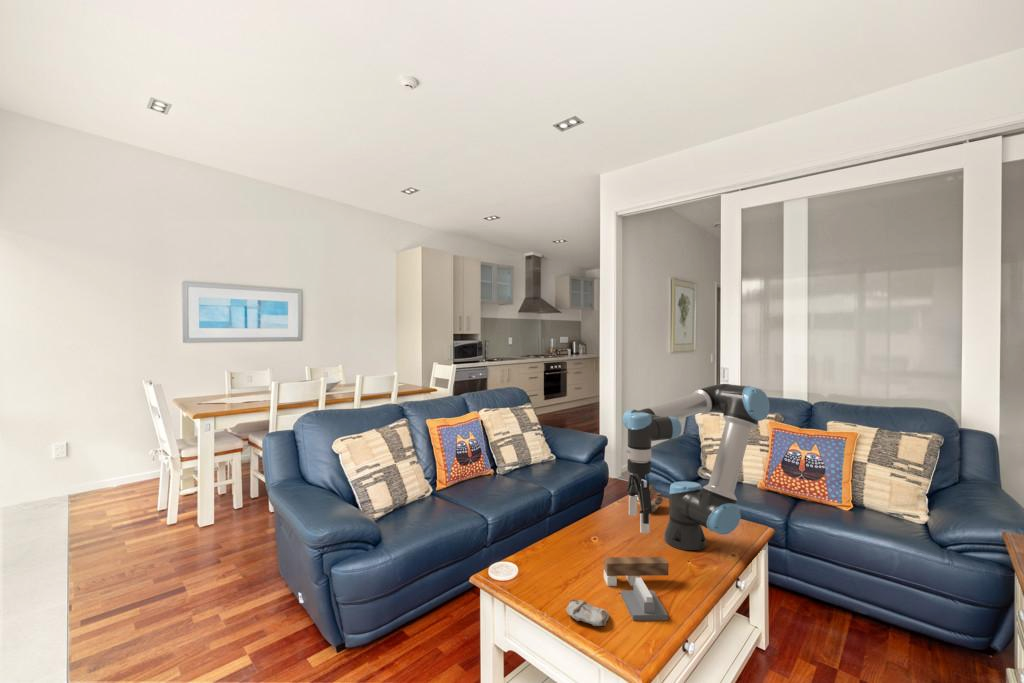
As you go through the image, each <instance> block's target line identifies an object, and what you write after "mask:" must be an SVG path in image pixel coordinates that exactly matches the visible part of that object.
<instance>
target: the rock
mask: <svg viewBox="0 0 1024 683" xmlns="http://www.w3.org/2000/svg"><path fill="white" fill-rule="evenodd" d="M649 490H650V498H651V506H652V513H654V512H655V511H656V510H658V508H659V505H661V504H662V503H664V497H663V496H662V493H660V492H658V491H657V490H656V489H655V487H654V485H652V484H651V485H650V484H649ZM636 496H637V501H639V502H640V500H639V494H638V495H636Z"/></svg>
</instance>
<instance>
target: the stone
mask: <svg viewBox="0 0 1024 683" xmlns="http://www.w3.org/2000/svg"><path fill="white" fill-rule="evenodd" d="M565 610H566V613H567V614H568V615H569V616H570V617H572V618H573V619H574V620H576V621H577V622H578V621H582V622H583V623H587V624H590V625H592V626H594V627H602V626H603V627H605V626H606V625H607V621H608V620H609V619H610V614H609V611H608V610H606V609H604V608H602V607H596V606H593V605H591V603H590V604H589V603H588V602H587V601H586V600H579V599H572V600H569V603H568V605H567V607H566V608H565Z"/></svg>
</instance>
